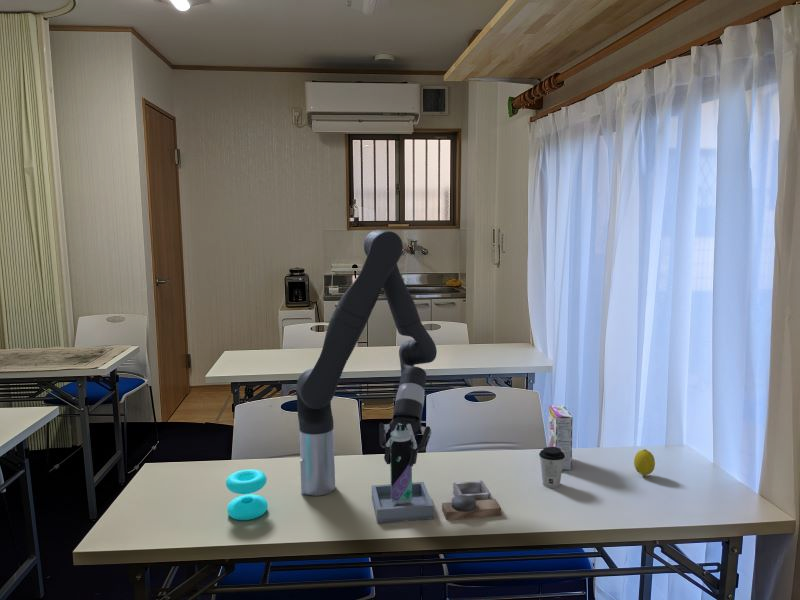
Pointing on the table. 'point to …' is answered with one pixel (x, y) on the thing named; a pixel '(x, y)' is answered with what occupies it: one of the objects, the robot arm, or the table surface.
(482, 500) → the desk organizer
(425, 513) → the tray
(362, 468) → the table surface
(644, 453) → the lemon
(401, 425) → the spray can
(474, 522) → the table surface
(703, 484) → the table surface
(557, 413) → the candy bar box
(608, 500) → the table surface
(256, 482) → the donuts
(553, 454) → the coffee cup
